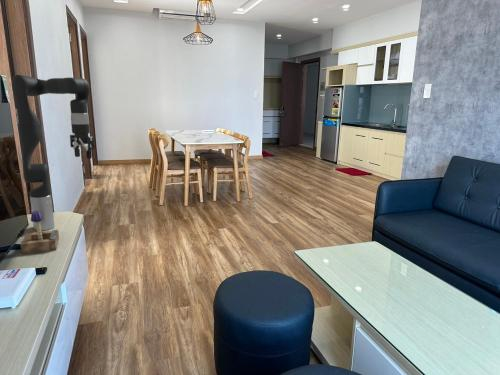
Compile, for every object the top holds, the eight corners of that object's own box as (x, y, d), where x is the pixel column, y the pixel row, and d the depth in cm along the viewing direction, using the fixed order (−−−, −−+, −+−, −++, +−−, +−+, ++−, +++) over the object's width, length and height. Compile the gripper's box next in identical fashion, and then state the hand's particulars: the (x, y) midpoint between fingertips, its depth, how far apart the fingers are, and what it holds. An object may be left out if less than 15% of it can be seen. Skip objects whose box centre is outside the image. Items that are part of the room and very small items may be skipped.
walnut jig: (21, 254, 150) (20, 243, 149) (27, 242, 162) (26, 232, 161) (56, 250, 155) (54, 239, 154) (59, 239, 167) (58, 229, 165)
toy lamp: (42, 248, 156) (38, 213, 152) (32, 248, 156) (27, 213, 152) (48, 244, 161) (44, 209, 156) (38, 244, 161) (33, 209, 156)
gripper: (97, 123, 162) (100, 158, 166) (77, 121, 168) (80, 155, 172) (83, 124, 155) (86, 160, 159) (63, 122, 162) (66, 157, 166)
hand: (83, 157), depth 166 cm, fingers open, 8 cm apart
